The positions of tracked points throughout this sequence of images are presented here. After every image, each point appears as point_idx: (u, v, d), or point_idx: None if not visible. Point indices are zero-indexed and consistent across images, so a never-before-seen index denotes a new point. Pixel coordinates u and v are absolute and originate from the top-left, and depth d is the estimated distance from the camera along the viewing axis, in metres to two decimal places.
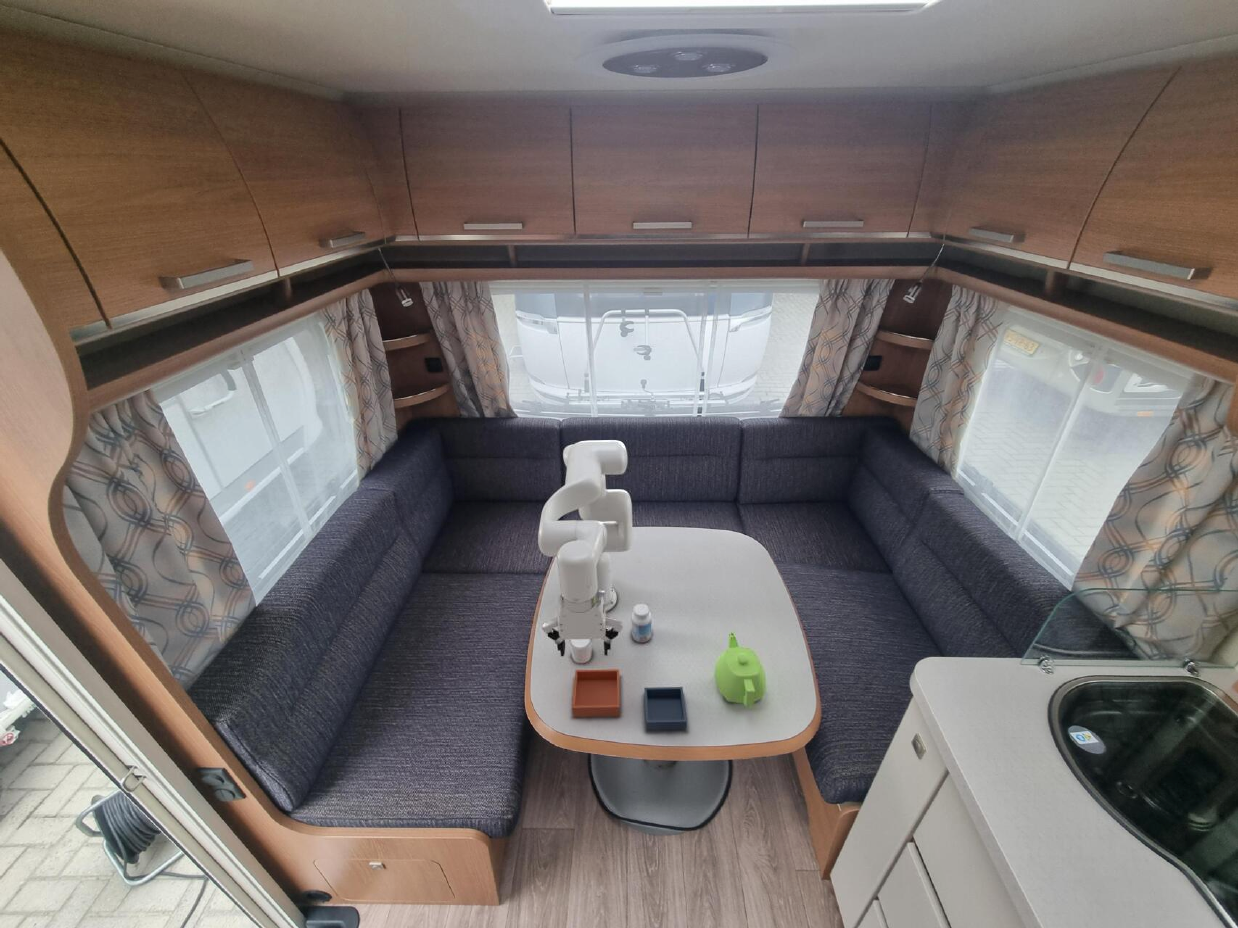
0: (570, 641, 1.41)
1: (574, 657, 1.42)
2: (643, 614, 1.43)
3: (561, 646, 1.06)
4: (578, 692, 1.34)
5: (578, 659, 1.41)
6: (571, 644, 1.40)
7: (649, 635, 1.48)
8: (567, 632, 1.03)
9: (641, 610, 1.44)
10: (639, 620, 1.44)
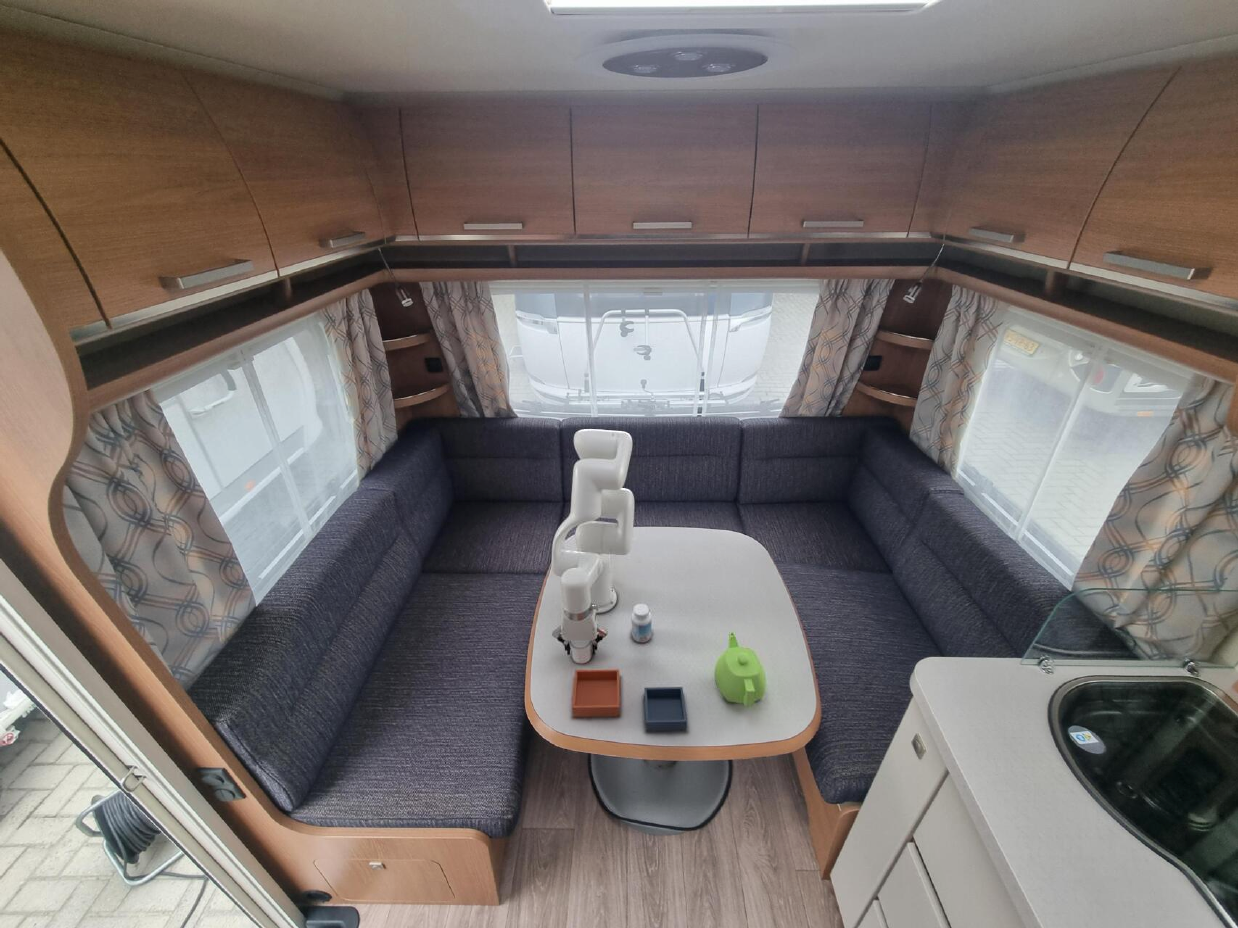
0: (570, 641, 1.41)
1: (574, 657, 1.42)
2: (643, 614, 1.43)
3: (567, 647, 1.41)
4: (578, 692, 1.34)
5: (578, 659, 1.41)
6: (571, 644, 1.40)
7: (649, 635, 1.48)
8: (568, 635, 1.37)
9: (641, 610, 1.44)
10: (639, 620, 1.44)
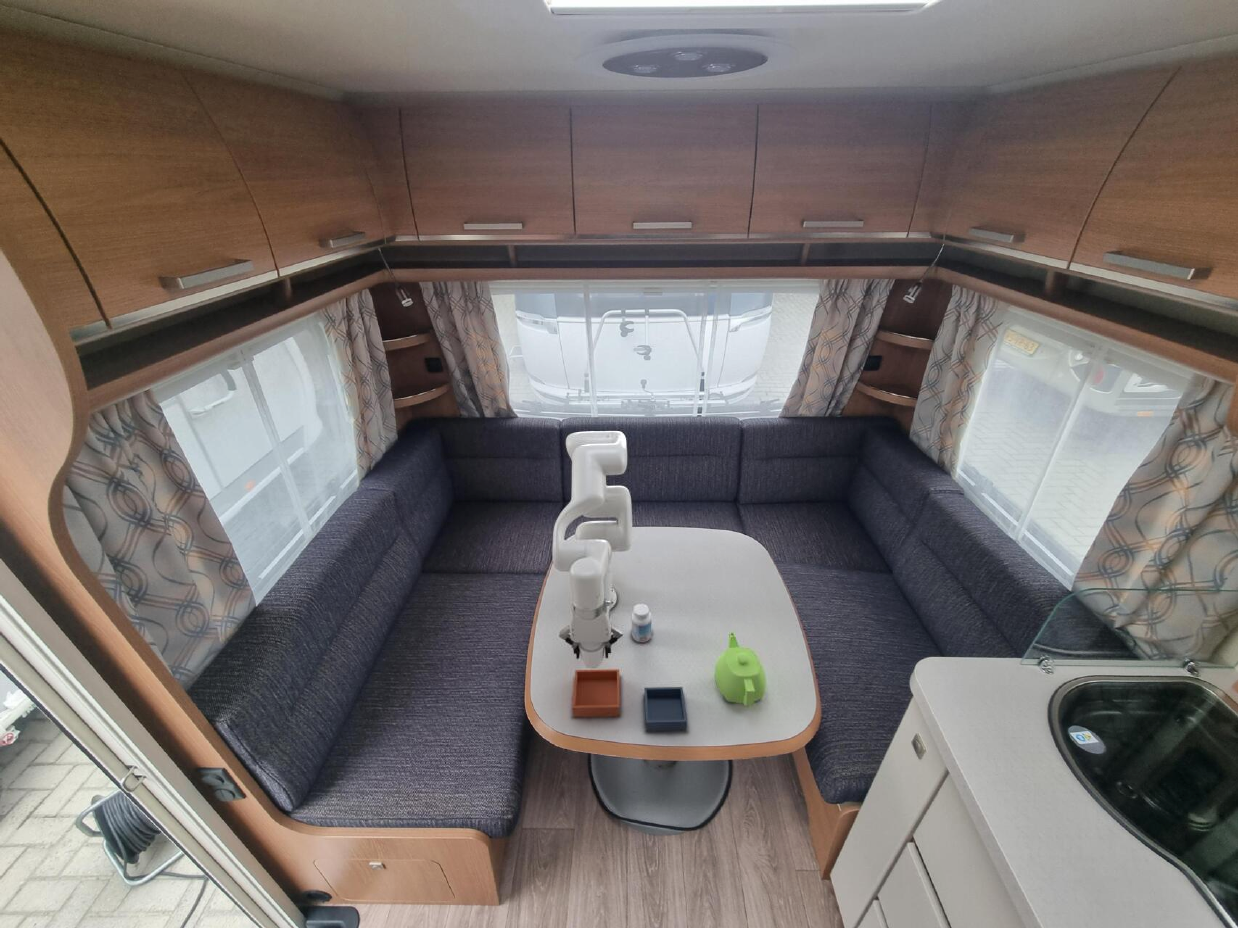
0: (580, 643, 1.23)
1: (584, 661, 1.24)
2: (643, 614, 1.43)
3: (577, 650, 1.23)
4: (578, 692, 1.34)
5: (589, 664, 1.23)
6: (581, 646, 1.22)
7: (649, 635, 1.48)
8: (577, 636, 1.19)
9: (641, 610, 1.44)
10: (639, 620, 1.44)
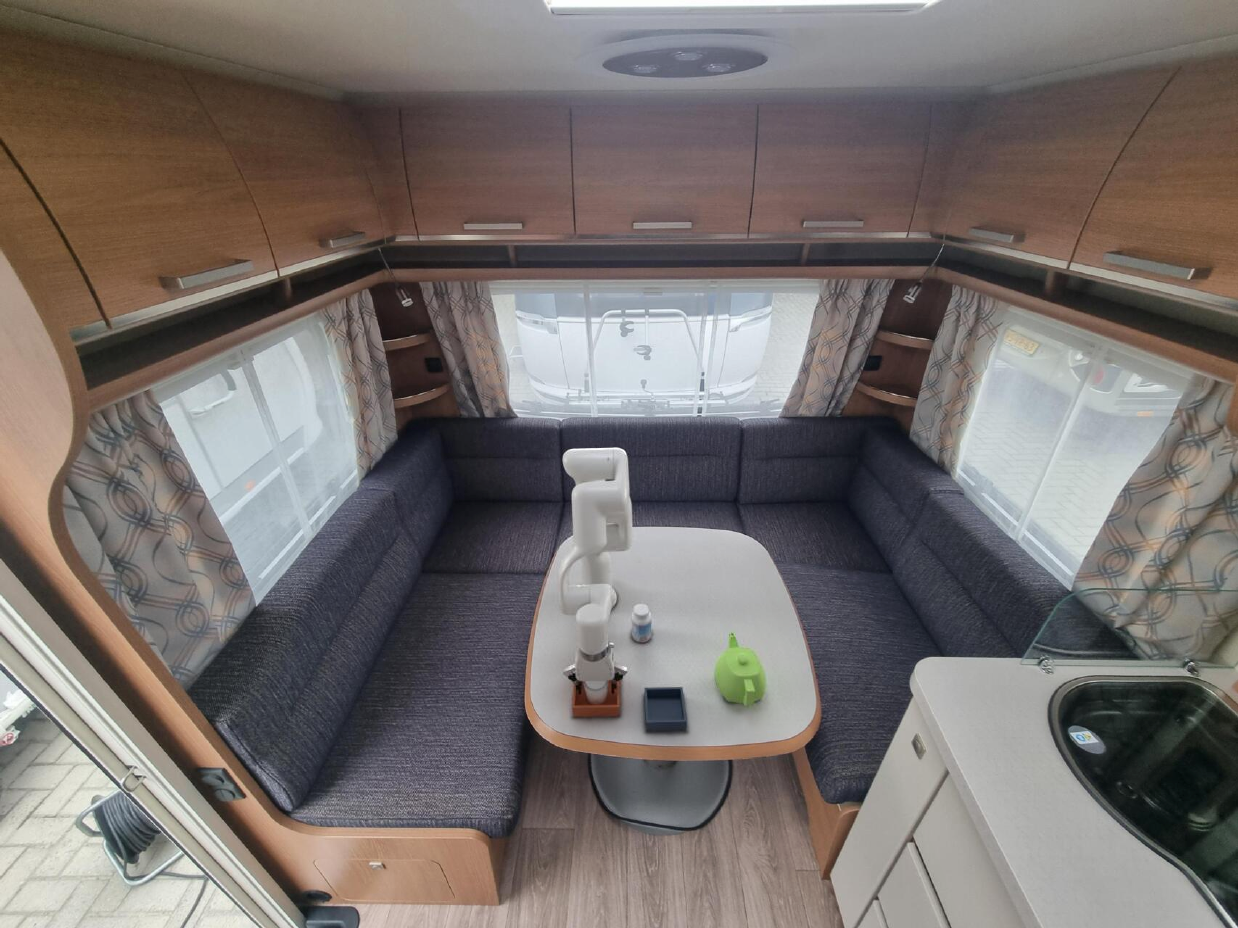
0: (585, 681, 1.29)
1: (589, 699, 1.30)
2: (643, 614, 1.43)
3: (579, 686, 1.29)
4: None
5: (593, 701, 1.30)
6: (586, 685, 1.28)
7: (649, 635, 1.48)
8: (582, 675, 1.25)
9: (641, 610, 1.44)
10: (639, 620, 1.44)
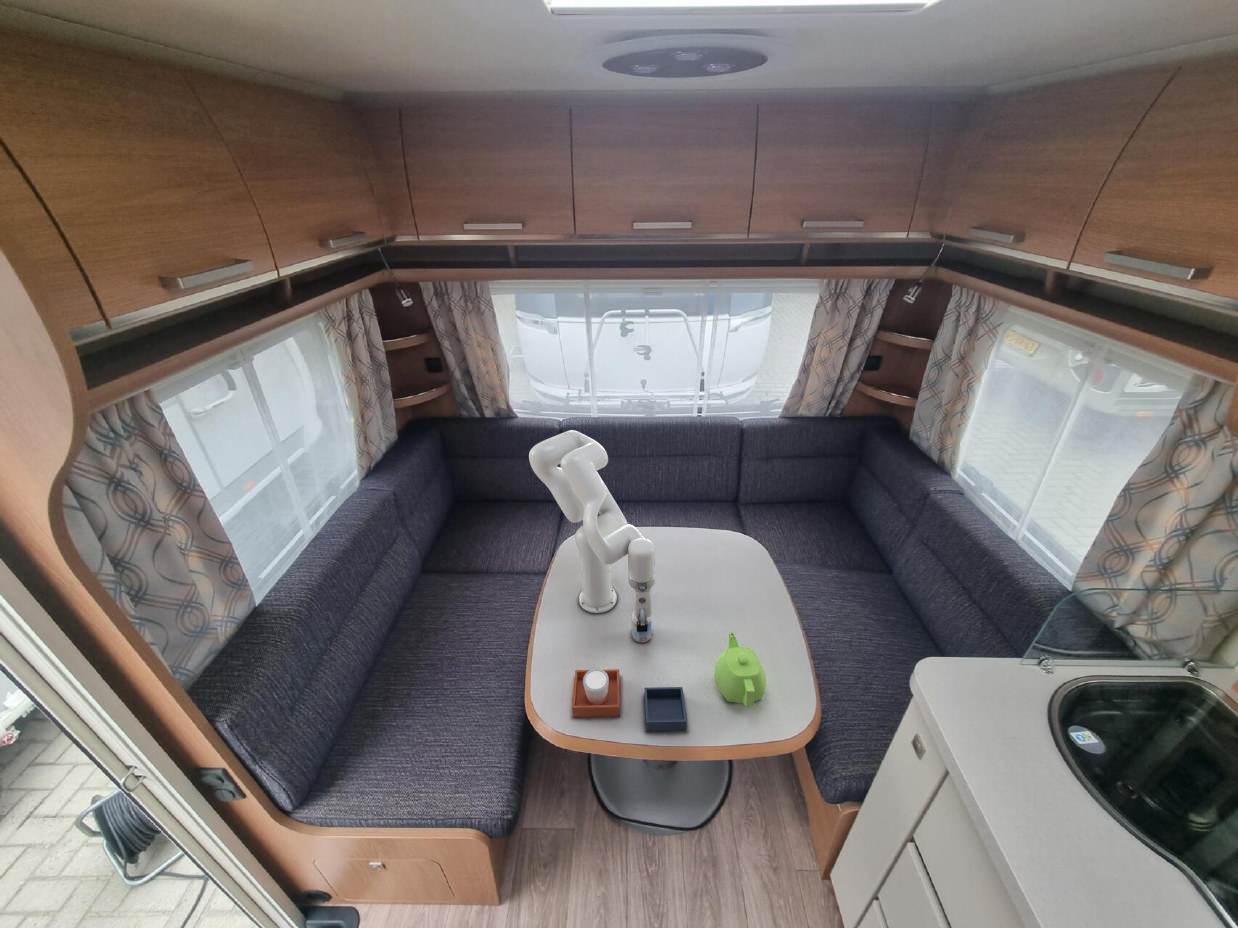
0: (585, 681, 1.29)
1: (589, 699, 1.30)
2: None
3: None
4: (578, 692, 1.34)
5: (593, 701, 1.30)
6: (586, 685, 1.28)
7: (649, 635, 1.48)
8: None
9: None
10: None
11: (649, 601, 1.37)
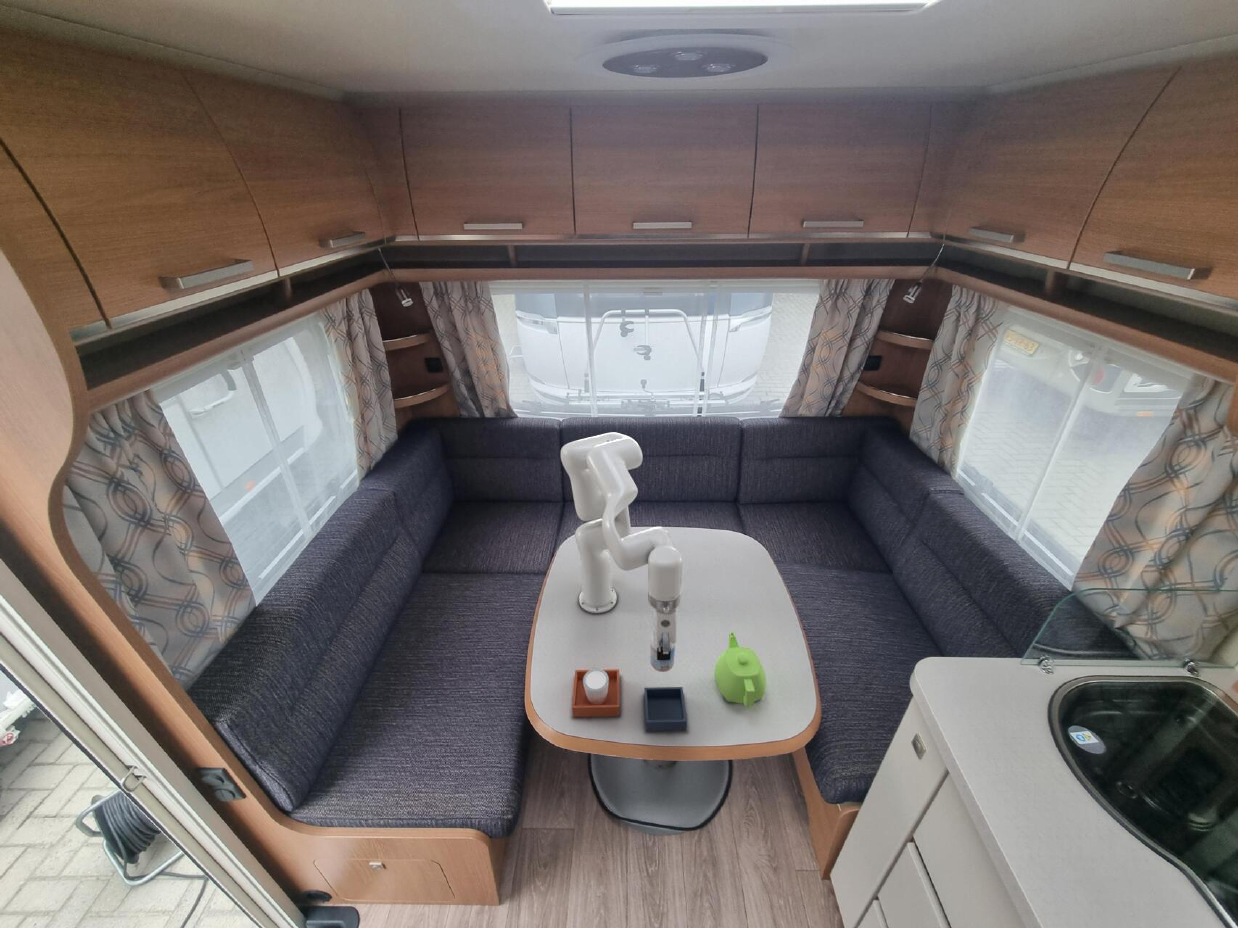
0: (585, 681, 1.29)
1: (589, 699, 1.30)
2: None
3: None
4: (578, 692, 1.34)
5: (593, 701, 1.30)
6: (586, 685, 1.28)
7: (672, 663, 1.21)
8: None
9: None
10: None
11: (674, 624, 1.10)
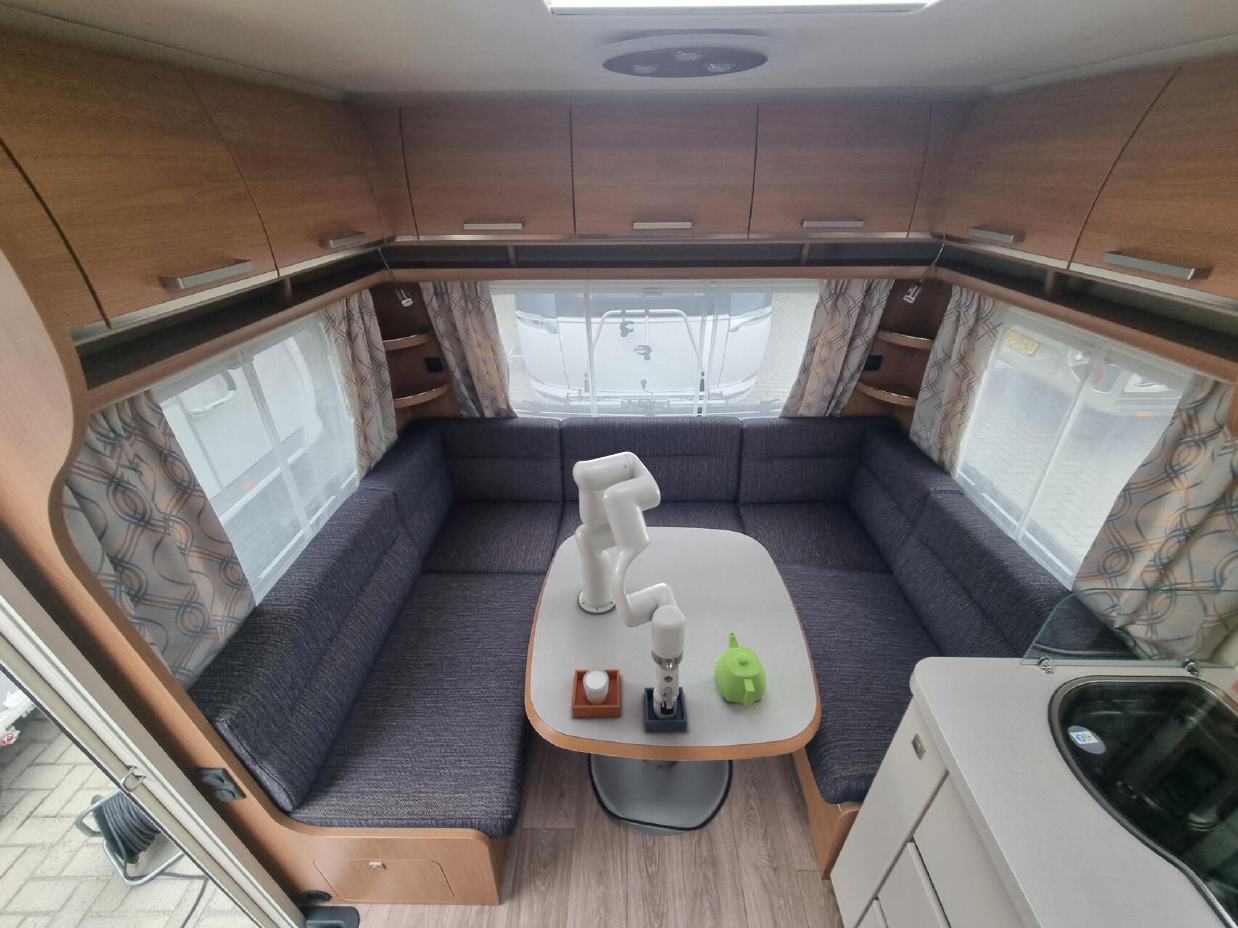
0: (585, 681, 1.29)
1: (589, 699, 1.30)
2: None
3: None
4: (578, 692, 1.34)
5: (593, 701, 1.30)
6: (586, 685, 1.28)
7: (674, 714, 1.26)
8: None
9: None
10: None
11: (676, 680, 1.14)
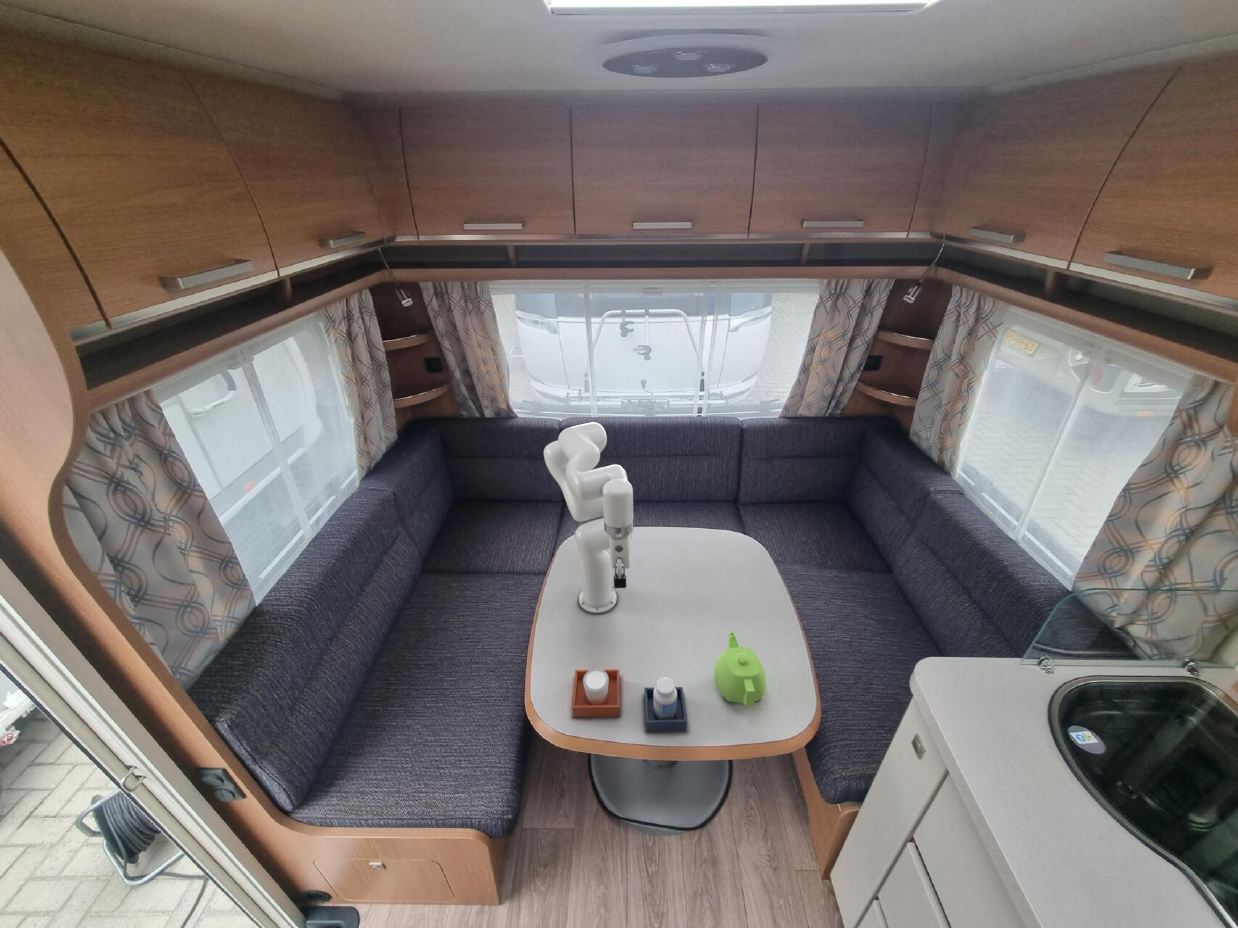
0: (585, 681, 1.29)
1: (589, 699, 1.30)
2: (668, 692, 1.21)
3: None
4: (578, 692, 1.34)
5: (593, 701, 1.30)
6: (586, 685, 1.28)
7: (674, 714, 1.26)
8: None
9: (666, 686, 1.22)
10: (662, 698, 1.22)
11: (627, 549, 1.23)
